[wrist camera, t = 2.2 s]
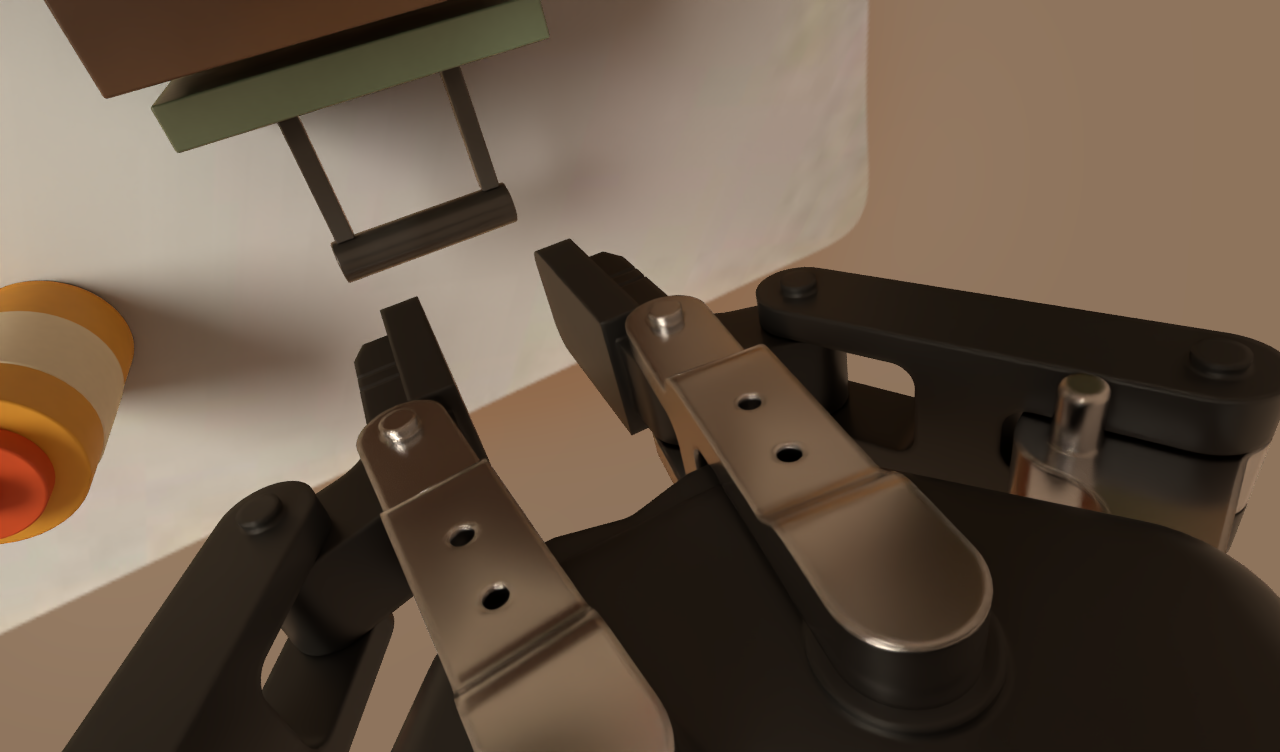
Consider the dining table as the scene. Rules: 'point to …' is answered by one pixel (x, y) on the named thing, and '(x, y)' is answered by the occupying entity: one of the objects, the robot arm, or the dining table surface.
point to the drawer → (350, 68)
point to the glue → (55, 399)
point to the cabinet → (199, 33)
